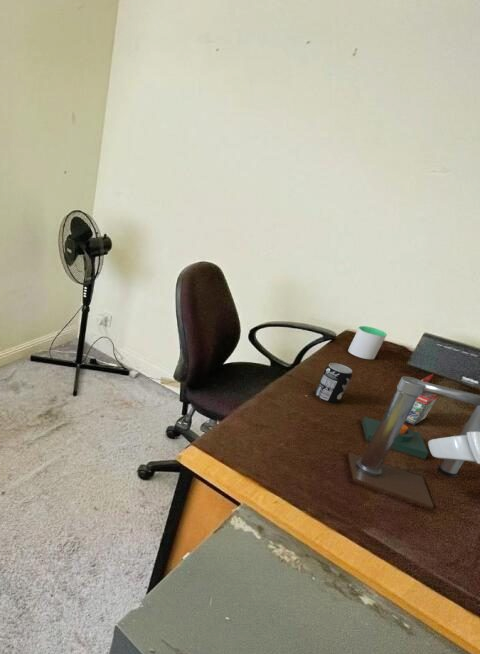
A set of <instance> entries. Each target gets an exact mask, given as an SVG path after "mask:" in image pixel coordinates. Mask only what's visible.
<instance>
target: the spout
mask: <svg viewBox="0 0 480 654" xmlns="http://www.w3.org/2000/svg"><path fill="white" fill-rule="evenodd" d="M421 380H422V379H418V378H415V377H412V376H401V378H400V380H399V382H398V383H397V386H396V390H397V389H398V390H399V391H401V392H403V393H405V394H408V395H412V396H420V395H421V394H422V392H427V393H431V394H435V395H438V397H443V398H447V399H451V400H455V401H459V402H464V403H466V404H467V403H468V404H472V405H475V406H476V407H475V409H474V410H473V412H472V413H471V415H470V417H469V418H468V420H467V422H466V423H465V425H464V427H463V428H462V430H461V431H460V433H459V435H458V436H463V435H467V434H466V433H467V432H474V431H480V394H476V393H472V392H468V391H464V390H459V389H455V388H451V387H447V386H443V385H438V384H434V383H430V382H428V383H426V382H423V381H421ZM464 462H465V461H461V460H451V459H443V461H442V463H441V464H439V465H438V466H437V468H436V470H437V472H438V473H439V474H441V475H443V476H445V477H448V478H452V479H454V478H457V476H458V474H459V473H458V472H459V470H460V468H462V465H463V464H464Z"/></svg>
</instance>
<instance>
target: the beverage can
mask: <svg viewBox="0 0 480 654" xmlns="http://www.w3.org/2000/svg"><path fill="white" fill-rule="evenodd" d="M352 373H353V370H352V369H351V368H350V367H348V366H346V365H345V364H341V363H337V362H330V363H328V365H327V366H325V368H324V370H323V372H322V375H321V377H320V379H319V381H318V383H317V386H316V387H315V390H314V395H315V396H316V397H317V398H318V399H320V400H321V401H324V402H327V403H329V404H337V403H340V401H341V400H342V397H343V395H344V393H345V391H346V389H347V387H348V385H349V383H350V381H351V380H352V377H353V374H352Z"/></svg>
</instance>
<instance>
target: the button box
mask: <svg viewBox="0 0 480 654" xmlns="http://www.w3.org/2000/svg"><path fill="white" fill-rule="evenodd" d="M380 422H381V420H377V419H374V418H370V417H367V416H364V417H362V420H361V424H362V428H363V433H364V436H365V440H366V441H368V442H369V443H370V442H371V440H372V438H373V436H374V434H375V432H376V430H377V428H378V426H379V424H380ZM390 450H394V451H398V452H401V453H404V454H407V455H410V456H412V457H416V458H420V459H423V460H426V458H427V457H428V455H429V451H428V449H427V446H426V444H425V441H424V439H423V436H422V435H421V433H420V432H419V431H415V430H412V429H410V428H408V430H407V431H406V433H405V434H401V433H399V434H398V436H397V438H396V439H395V441H394V443H393V445H392V447H391V449H390Z"/></svg>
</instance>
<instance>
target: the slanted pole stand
mask: <svg viewBox="0 0 480 654" xmlns="http://www.w3.org/2000/svg"><path fill="white" fill-rule="evenodd" d="M418 397H419V396H412V395H408V394H405V393H403V392H401V391H399V390H398V389H397V388H396V391H395V392H394V394H393V396H392V399H391V400H390V402H389V404H388V406H387V408H386V410H385V412H384V414H383V416H382V418H381V420H380V421H381V422H380V424H379V426H378V428H377V430H376V432H375V434H374V436H373V438H372V440H371V442H370V441H369V443H368V445H367V448H366V449H365V452H363V453H364V454H363V455H362V456H361V455H358V454H356V453H352V452H349V453H348V456H347V458H348V463H349V468H350V472H351V473H350V474H351V478H352V481H353V482H356V483H359V484H361V485H364V486H366V487H369V488H373V489H374V490H378V491H381V492H383V493H386V494H388V495H389V494H390V495H392V496H395V497H398V498H401V499H403V500H406V501H409V502H412V503H415V504H418V505H421V506H423V507H426V508H429V509H434V503H433V500H432V498H431V496H430V493H429V490H428V488H427V485H426V483H425V480H424V478H423V476H421V475H419V474H416V473H413V472H409V471H406V470H403V469H401V468H397V467H394V466H391V465H388V464H385V463H384V462H385V460H386V459H387V456H388V454H389V453H390V450H392V449H391V447H392V445H393V443H394V441H395V439H396V438H397V436H398V434H399V432H400V430H401V428H402V426H403V425H404V424H405V423H406V422H407V421H406V419H407V417H408V415H409V413H410V411H411V410H412V408H413V406H414V404H415V402H416V400H417V398H418Z"/></svg>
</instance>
